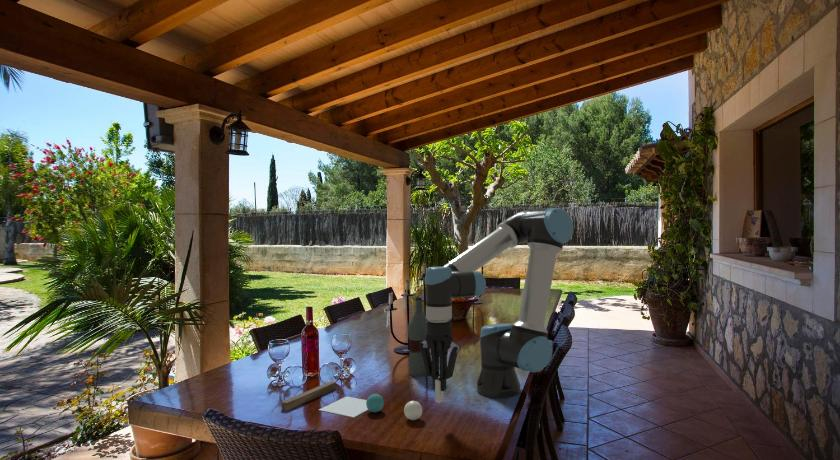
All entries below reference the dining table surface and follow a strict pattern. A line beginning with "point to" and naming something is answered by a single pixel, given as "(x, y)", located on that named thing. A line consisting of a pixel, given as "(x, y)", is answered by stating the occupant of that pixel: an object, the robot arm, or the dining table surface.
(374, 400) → the teal ball
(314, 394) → the bar
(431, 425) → the dining table surface
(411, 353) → the bottle
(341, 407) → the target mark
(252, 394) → the dining table surface
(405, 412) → the cue ball
